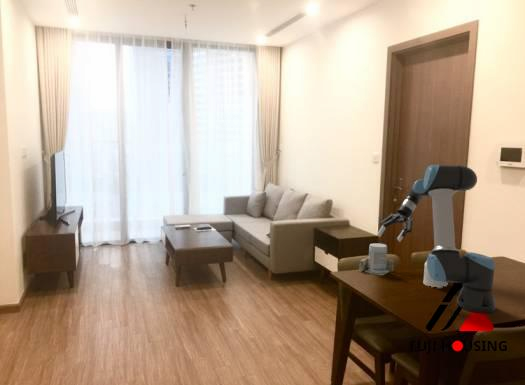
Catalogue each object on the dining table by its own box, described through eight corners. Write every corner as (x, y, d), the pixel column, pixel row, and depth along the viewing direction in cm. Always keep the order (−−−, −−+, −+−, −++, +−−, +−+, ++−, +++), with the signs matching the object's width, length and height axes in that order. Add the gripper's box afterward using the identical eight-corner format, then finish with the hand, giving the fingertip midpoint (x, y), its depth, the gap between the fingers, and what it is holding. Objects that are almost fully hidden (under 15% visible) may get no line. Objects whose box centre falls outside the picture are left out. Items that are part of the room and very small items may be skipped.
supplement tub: (389, 271, 233) (390, 245, 232) (380, 274, 227) (381, 248, 225) (373, 267, 240) (375, 242, 239) (364, 270, 234) (366, 244, 232)
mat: (381, 275, 226) (381, 275, 226) (364, 271, 233) (364, 271, 233) (389, 271, 234) (389, 271, 234) (372, 267, 240) (372, 267, 240)
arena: (382, 276, 224) (382, 266, 224) (358, 271, 233) (359, 260, 232) (393, 271, 235) (393, 260, 235) (370, 266, 244) (371, 255, 243)
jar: (437, 289, 207) (440, 259, 206) (420, 283, 215) (422, 255, 213) (450, 285, 214) (452, 256, 213) (432, 279, 222) (434, 252, 220)
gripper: (428, 216, 234) (410, 246, 227) (391, 210, 254) (373, 237, 248) (423, 208, 231) (404, 238, 224) (386, 202, 251) (367, 229, 244)
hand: (388, 238), depth 236 cm, fingers open, 13 cm apart
